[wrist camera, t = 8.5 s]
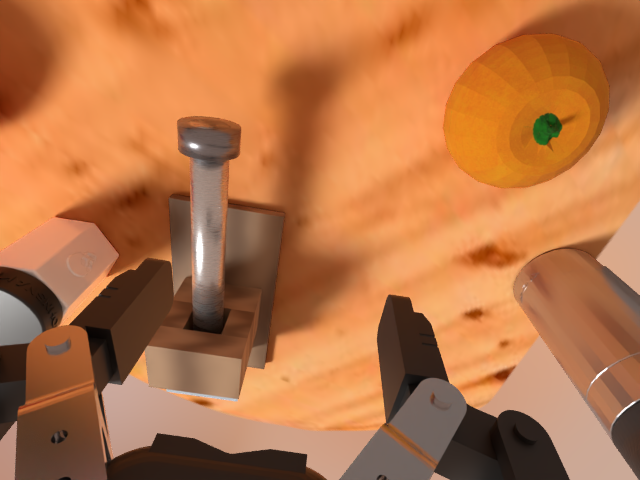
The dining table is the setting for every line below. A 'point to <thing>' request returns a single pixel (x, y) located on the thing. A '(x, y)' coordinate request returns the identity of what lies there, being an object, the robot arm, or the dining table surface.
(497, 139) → the fruit
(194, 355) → the bearing block
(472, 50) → the dining table surface
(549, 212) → the dining table surface
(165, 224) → the dining table surface
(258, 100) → the dining table surface
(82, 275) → the jar
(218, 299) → the shaft
